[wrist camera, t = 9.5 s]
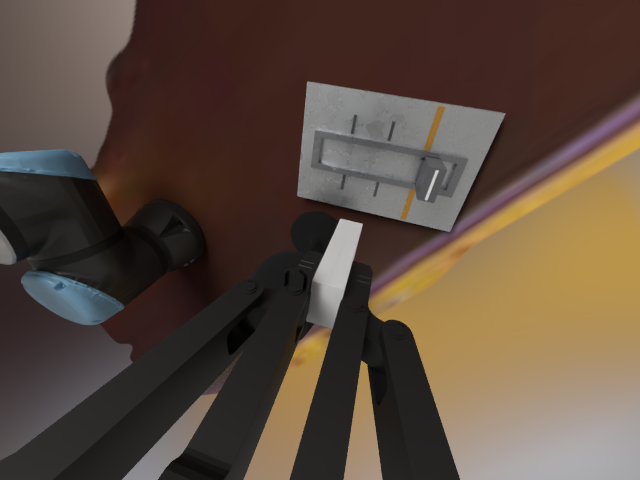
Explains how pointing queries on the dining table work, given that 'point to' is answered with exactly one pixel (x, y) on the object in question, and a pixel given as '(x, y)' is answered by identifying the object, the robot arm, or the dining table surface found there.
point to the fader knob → (429, 179)
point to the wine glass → (306, 236)
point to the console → (390, 152)
